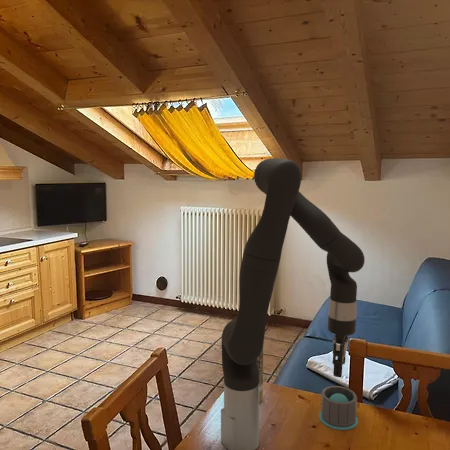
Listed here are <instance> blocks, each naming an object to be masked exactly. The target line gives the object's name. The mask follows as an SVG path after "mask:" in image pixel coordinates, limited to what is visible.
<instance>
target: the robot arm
mask: <svg viewBox="0 0 450 450" xmlns="http://www.w3.org/2000/svg"><path fill="white" fill-rule="evenodd" d="M253 174H254V175H253V178H254V180H253V181H254V183H255V185H256V187H257V188H258V190H260V192H262V193H264V194H265V195H266V196H265V201H264V206H263V210H262V213H261V215H260V218H259V220H258V222H257V224H256V226H255V227H254V228H253V230H252V232H251V233H250V235H249V236H248V238H247V240H246V243H245V246H244V248H243V253H242V257H241V263H240V268H239V279H238V280H239V281H238V282H239V283H238V284H239V286H238V288H239V289H238V290H239V292H238V293H239V305H238V312H237V316H236V318H235V319H231V320H230V321H229V322H227V324H226V325H224V328H223V330H222V334H221V365H222V366H221V367H222V373H223V408H221V409H220V442H221V444H222V445H223V446H224V448H226V450H257V449H258V447H259V445H260V403H259V370H258V366H257V360H256V359H257V358H258V357H259V356H260V354H261V352H262V349H263V350H264V344H265V343H264V342H265V333H266V325H267V318H268V317H267V316H268V312H269V307H270V304H271V300H272V296H273V291H274V286H275V284H276V283H275V282H276V280H277V279H276V278H277V275H278V271H279V268H280V262H281V257H282V252H283V247H284V244H285V243H284V242H285V239H286V235H287V231H288V225H289V221H290V219H291V218H292V219H293V220H294V221H295V222H296V223H297V224H298V226H300V228H302V230H303V231H304V232H305V233H306V234H307V235H308V236H309V238H310V239H311V240H312V241H313V242H314V243H315V244H316V245H317V247H318V248H320V250H322V251H324V252H326V253H327V254H326V266H327V271H328V276H329V281H330V297H329V304H328V317H327V319H328V320H327V330H328V331H329V332H330V333H331V334H334V336H333V338H332V346H333V347H332V362H331V363H332V365H333V377H336V378H342V376H343V365H345V364H346V357H347V356H346V354H347V350H348V347H349V340H350V337H349V336H352V335H354V334H355V333H356V330H357V329H356V327H357V312H358V309H357V294H358V284H357V282H356V280H355V279H354V278H352V277H351V275H350V273H357V272H360V270H362V268H363V267H364V265H365V254H364V251H363V250H362V249H361V248H360V247H359V246H358V244H356V243H355V242H354V241H353V240H352V239H350V237H348V236H347V235H345V234H344V233H342V231H340V229H339V228H338V226H337V225H336V224H335V222H333V221H332V219H331V218H329V216H328V214H326V213H325V212H324V211H323V210H322V209H320V208H319V207H318V206H316V204H314V203H312V201H310V200H309V199H308V198H307V197H305V196H304V195H303V194H302V193H301V192H300V188H301V184H302V171H301V168H300V166H299V165H298V164H297V163H296V162H295V161H294V160H293V159H292V160H291V159H288V158H273V157H272V158H266V159H263V160H262V161H260V162H259V163H258V164H257V166H256V167H255V169H254V173H253Z"/></svg>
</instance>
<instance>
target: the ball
mask: <svg viewBox="0 0 450 450" xmlns="http://www.w3.org/2000/svg"><path fill="white" fill-rule="evenodd" d="M329 399H330V400H332V401H336V402H349V400H348V399H347V397H346V396H344V395H343V394H340V393H336V394H333V395H332V396H331V397H330V398H329Z"/></svg>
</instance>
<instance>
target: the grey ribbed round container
mask: <svg viewBox="0 0 450 450" xmlns="http://www.w3.org/2000/svg"><path fill="white" fill-rule="evenodd" d="M336 393H340V394H343V395H344V396H346V397H347V399H348V400H349V402H336V401H332V400H330V399H329V398H330V397H331V396H332V395H333V394H336ZM320 397H321V399H320V411H319V413H318V419H319V421H320V422H321V424H323V425H324V426H326V427H328V428H329V429H332V430H338V431H351V430H353V429H354V428H356V427H357V426H358V424H359V418H358V416H357V411H358V410H357V408H358V407H357V405H358V396H357V394H356V393H355V391H353V390H352V389H350V388H347V387H344V386H340V385H331V386H327V387H325V388H323V389H322V391H321V396H320Z"/></svg>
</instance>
